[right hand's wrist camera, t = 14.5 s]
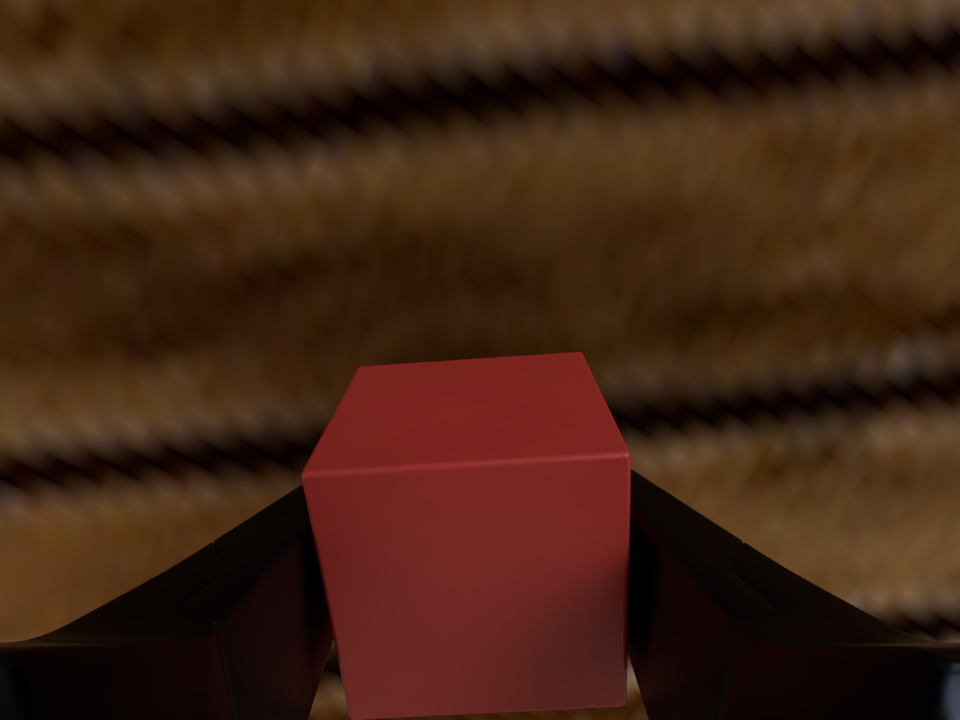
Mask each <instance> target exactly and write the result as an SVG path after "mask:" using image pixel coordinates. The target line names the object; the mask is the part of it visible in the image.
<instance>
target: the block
mask: <svg viewBox="0 0 960 720" xmlns="http://www.w3.org/2000/svg"><path fill="white" fill-rule="evenodd" d="M301 478H302V483H303V488H304V493H305V498H306V503H307V508H308V513H309V518H310V523H311V528H312V532H313V537H314V542H315V547H316V552H317V557H318V562H319V567H320V572H321V577H322V582H323V587H324V592H325V597H326V602H327V607H328V612H329V617H330V622H331V627H332V631H333V636H334V641H335V646H336V651H337V656H338V661H339V666H340V671H341V676H342V681H343V686H344V691H345V696H346V701H347V706H348V711H349V715H350V718H351V719H353V720H365V719H384V718H403V717H423V716H442V715H461V714H481V713H500V712H520V711H539V710H558V709H578V708H597V707H616V706H623V705H625V703H626V693H627V642H628V591H629V540H630V489H631V454H630V452H629V450H628V448H627V446H626V444H625V442H624V440H623V438H622V435H621V433H620V431H619V429H618V427H617V425H616V423H615V421H614V419H613V417H612V415H611V412H610V410H609V408H608V406H607V404H606V402H605V400H604V398H603V396H602V394H601V392H600V390H599V387H598V385H597V383H596V381H595V379H594V377H593V375H592V373H591V371H590V369H589V367H588V364H587V362H586V360H585V358H584V356H583V354H582V353H580V352H571V353H556V354H541V355H526V356H511V357H496V358H481V359H466V360H451V361H436V362H421V363H406V364H391V365H376V366H361V367H359V368H358V369H357V371H356V373H355V375H354V377H353V378H352V380H351V382H350V384H349V386H348V388H347V390H346V391H345V393H344V395H343V397H342V399H341V401H340V403H339V404H338V406H337V408H336V410H335V412H334V414H333V416H332V417H331V419H330V421H329V423H328V425H327V427H326V429H325V430H324V432H323V434H322V436H321V438H320V440H319V442H318V444H317V445H316V447H315V449H314V451H313V453H312V455H311V457H310V458H309V460H308V462H307V464H306V466H305V468H304V470H303V471H302V475H301Z"/></svg>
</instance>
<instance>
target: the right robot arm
mask: <svg viewBox="0 0 960 720" xmlns="http://www.w3.org/2000/svg"><path fill="white" fill-rule="evenodd" d="M333 638H334V636H333V631H332V627H331V622H330V617H329V612H328V607H327V602H326V597H325V592H324V587H323V582H322V577H321V572H320V567H319V562H318V557H317V552H316V547H315V542H314V537H313V532H312V528H311V523H310V518H309V513H308V508H307V503H306V498H305V493H304V488H303V484H302V485H301V486H299V487H298V488H296V489H294V490H293V491H291V492H290V493H288V494H287V495H285V496H283V497H282V498H280V499H279V500H277V501H276V502H274V503H273V504H271V505H269V506H268V507H266V508H265V509H263V510H262V511H260V512H258V513H257V514H255V515H254V516H252V517H251V518H249V519H248V520H246V521H244V522H243V523H241V524H240V525H238V526H237V527H235V528H233V529H232V530H230V531H229V532H227V533H226V534H224V535H223V536H221V537H219V538H218V539H216V540H215V541H214V543H210V544H208V545H207V546H205V547H204V548H202V549H201V550H199V551H197V552H196V553H194V554H193V555H191V556H189V557H188V558H186V559H184V560H183V561H181V562H180V563H178V564H176V565H175V566H173V567H171V568H170V569H168V570H166V571H164V572H163V573H161V574H159V575H157V576H156V577H154V578H152V579H150V580H148V581H147V582H145V583H143V584H141V585H139V586H138V587H136V588H134V589H132V590H130V591H128V592H126V593H125V594H123V595H121V596H119V597H117V598H115V599H114V600H112V601H110V602H108V603H106V604H104V605H103V606H101V607H99V608H97V609H95V610H93V611H91V612H90V613H88V614H86V615H84V616H82V617H80V618H79V619H77V620H75V621H73V622H71V623H69V624H67V625H65V626H63V627H61V628H59V629H57V630H55V631H53V632H50V633H48V634H45V635H43V636H40V637H36V638H33V639H29V640H25V641H19V642H10V643H0V720H308V717H309V714H310V711H311V707H312V704H313V701H314V698H315V695H316V692H317V689H318V685H319V682H320V679H321V676H322V673H323V670H324V666H325V663H326V660H327V657H328V654H329V651H330V647H331V644H332V641H333ZM627 651H628V654H629V657H630V661H631V664H632V667H633V670H634V673H635V677H636V680H637V683H638V686H639V689H640V693H641V696H642V699H643V702H644V705H645V709H646V712H647V715H648V718H649V720H960V643H944V642H936V641H930V640H926V639H922V638H919V637H915V636H912V635H910V634H907V633H905V632H902V631H900V630H898V629H896V628H894V627H892V626H890V625H888V624H886V623H884V622H882V621H880V620H879V619H877V618H875V617H873V616H871V615H869V614H868V613H866V612H864V611H862V610H860V609H858V608H857V607H855V606H853V605H851V604H849V603H847V602H846V601H844V600H842V599H840V598H838V597H836V596H835V595H833V594H831V593H829V592H827V591H825V590H824V589H822V588H820V587H818V586H816V585H814V584H813V583H811V582H809V581H807V580H806V579H804V578H802V577H800V576H799V575H797V574H795V573H793V572H791V571H790V570H788V569H786V568H785V567H783V566H781V565H780V564H778V563H776V562H775V561H773V560H772V559H770V558H768V557H767V556H765V555H763V554H762V553H760V552H759V551H757V550H756V549H754V548H753V547H751V546H750V545H748V544H746V543H743V542H742V541H741V540H740V539H738V538H737V537H735V536H734V535H732V534H731V533H729V532H728V531H726V530H725V529H723V528H721V527H720V526H718V525H717V524H715V523H714V522H712V521H711V520H709V519H708V518H706V517H704V516H703V515H701V514H700V513H698V512H697V511H695V510H694V509H692V508H690V507H689V506H687V505H686V504H684V503H683V502H681V501H680V500H678V499H677V498H675V497H673V496H672V495H670V494H669V493H667V492H666V491H664V490H663V489H661V488H660V487H658V486H656V485H655V484H653V483H652V482H650V481H649V480H647V479H646V478H644V477H642V476H641V475H639V474H638V473H636V472H635V471H633V470H632V469H631V489H630V540H629V591H628V642H627Z"/></svg>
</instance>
